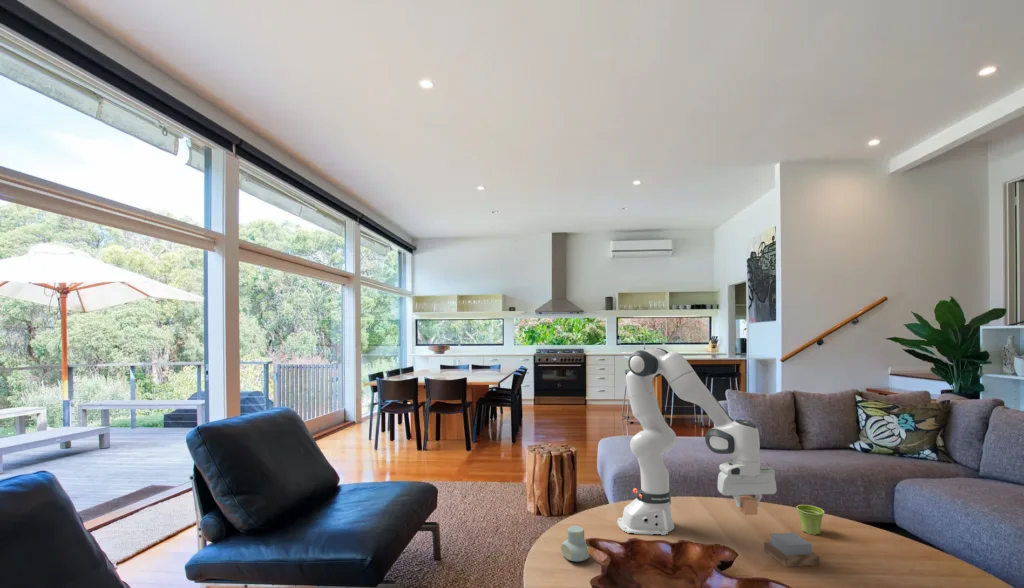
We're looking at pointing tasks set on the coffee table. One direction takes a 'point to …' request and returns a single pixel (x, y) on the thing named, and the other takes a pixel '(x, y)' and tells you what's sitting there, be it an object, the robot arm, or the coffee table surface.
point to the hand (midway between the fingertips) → (747, 506)
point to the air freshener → (575, 545)
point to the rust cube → (748, 505)
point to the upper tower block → (791, 544)
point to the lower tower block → (791, 557)
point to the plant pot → (810, 518)
